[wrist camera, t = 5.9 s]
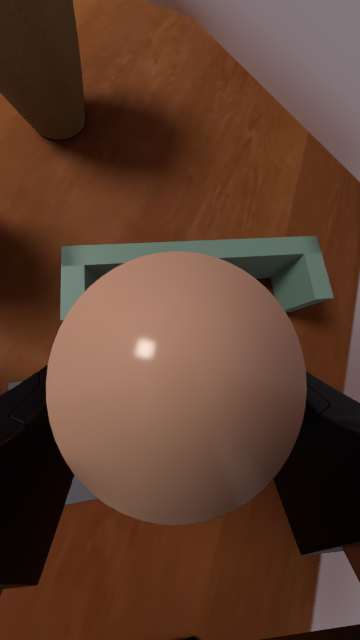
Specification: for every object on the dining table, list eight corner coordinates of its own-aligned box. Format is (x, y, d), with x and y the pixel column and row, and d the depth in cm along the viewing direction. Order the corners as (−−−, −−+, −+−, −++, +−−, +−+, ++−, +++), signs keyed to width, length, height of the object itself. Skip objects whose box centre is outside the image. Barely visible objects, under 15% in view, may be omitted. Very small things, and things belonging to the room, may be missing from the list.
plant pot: (128, 111, 28) (82, -203, 12) (74, 177, 25) (-83, -129, 9) (45, 69, 28) (-108, -296, 12) (-20, 129, 25) (-335, -254, 9)
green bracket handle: (291, 311, 24) (333, 297, 18) (89, 329, 21) (60, 320, 15) (280, 263, 25) (316, 235, 19) (88, 274, 22) (61, 246, 16)
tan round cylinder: (211, 385, 15) (345, 469, 4) (141, 404, 14) (62, 575, 3) (194, 319, 16) (261, 236, 5) (128, 333, 15) (34, 272, 4)
